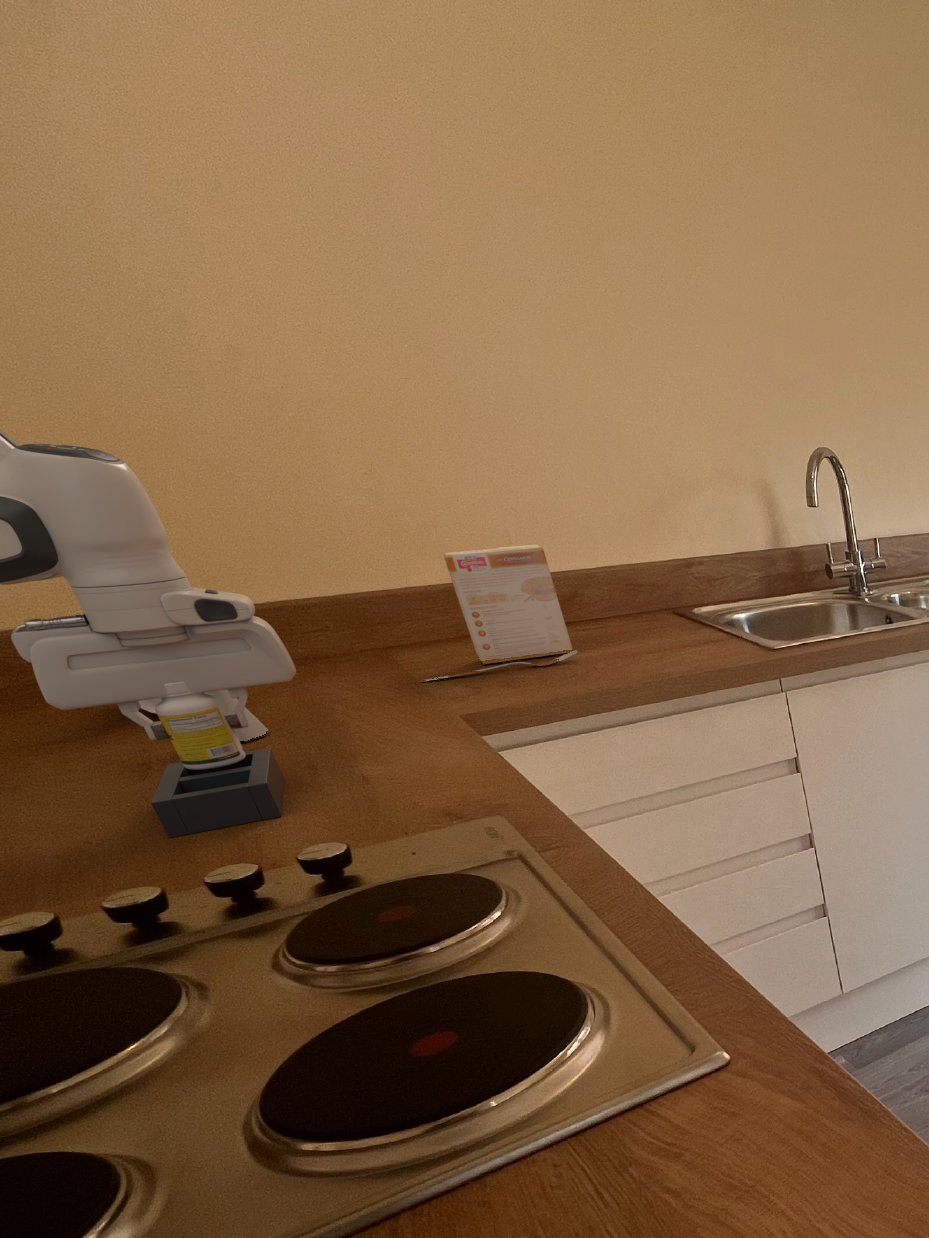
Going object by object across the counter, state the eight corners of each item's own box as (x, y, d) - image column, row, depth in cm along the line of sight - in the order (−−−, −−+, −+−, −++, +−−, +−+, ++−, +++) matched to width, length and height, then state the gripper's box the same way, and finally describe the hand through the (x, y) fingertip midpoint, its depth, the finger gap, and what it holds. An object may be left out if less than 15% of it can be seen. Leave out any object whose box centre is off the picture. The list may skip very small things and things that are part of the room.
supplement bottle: (198, 759, 112) (158, 676, 107) (255, 753, 113) (218, 671, 109) (174, 773, 107) (131, 687, 103) (234, 767, 109) (194, 682, 104)
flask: (219, 734, 136) (186, 664, 131) (280, 729, 138) (249, 660, 133) (189, 749, 129) (153, 676, 125) (253, 743, 131) (220, 672, 127)
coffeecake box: (567, 648, 187) (537, 543, 178) (574, 653, 182) (544, 546, 173) (477, 659, 178) (441, 550, 170) (482, 666, 173) (444, 553, 165)
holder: (168, 838, 101) (150, 802, 99) (183, 796, 113) (167, 764, 111) (281, 816, 106) (266, 782, 104) (284, 778, 118) (270, 747, 116)
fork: (420, 680, 164) (416, 670, 163) (578, 658, 178) (575, 649, 177) (422, 684, 161) (418, 673, 161) (582, 661, 175) (579, 652, 175)
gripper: (-6, 626, 94) (67, 758, 100) (264, 601, 106) (315, 721, 112) (8, 617, 99) (77, 745, 105) (266, 594, 111) (315, 711, 117)
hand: (202, 733), depth 109 cm, fingers closed on supplement bottle, 5 cm apart
